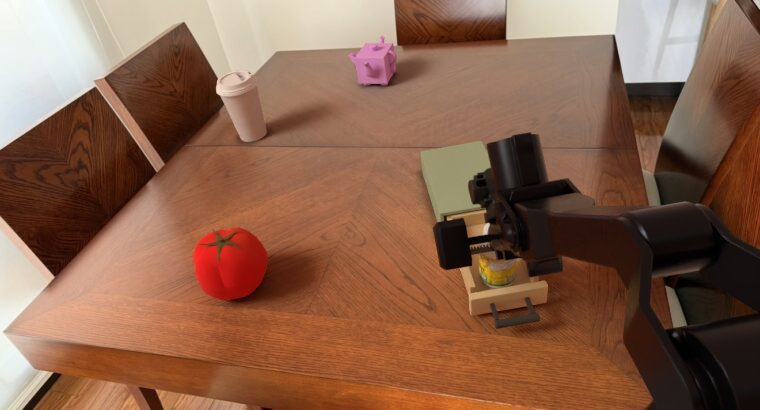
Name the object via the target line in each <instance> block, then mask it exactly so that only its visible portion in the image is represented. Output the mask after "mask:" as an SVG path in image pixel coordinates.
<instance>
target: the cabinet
mask: <svg viewBox="0 0 760 410" xmlns="http://www.w3.org/2000/svg"><path fill="white" fill-rule="evenodd" d="M419 152H420V163H421V173H422V176H423V179H424V184H425V186H426V190H427V192H428V197H429V199H430V203H431V206H432V208H433V212H434V215H435V219H436V223H437V222H441V221H447V216H448V215H454V214H460V213H466V212H472V211H477V210H483V209H486V208H481V205H479V204H476V205H473V204H472V202H471V198H470V194H469V190H468V182H469V180H473V179H474V178H473V176H474V175H477V173H480V172H484V171H485V170H486V169H488V168H491V167H490V162H489V157H488V152H487V147H486V146H485V144H484V143H483V141H482V140H478V141H471V142H466V143H460V144H455V145H449V146H442V147H438V148H432V149H425V150H420V151H419Z"/></svg>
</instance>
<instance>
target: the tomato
mask: <svg viewBox="0 0 760 410" xmlns="http://www.w3.org/2000/svg"><path fill="white" fill-rule="evenodd" d="M192 258H193V264H194V274H195V276H196V279H197V282H198V284H199V286H200V288H201V289H202V291H203V292H204V293H205V295H206V296H209V297H211V298H214V299H218V300H222V301H231V300H236V299H241V298H246V297H247V296H249V295H251V294H252V293H253V292H254V291H256V289H257V288H258V287H259V286H260V285H261V283H262V281H263V279H264V277H265V275H266V273H267V268H268V260H269V259H268V251H267V250H266V248H265V246H264V245H263V242H261V240H260V239H259V238H258V236H256V235H255V234H254V233H252V232H251V231H249V230H248V229H246V228H243V227H241V226H237V227H236V226H235V227H231V228H229V229H218V230H214V229H212V231H210V232H209V233H208V234H206V235H204V236H203V237H201V238H199V240H198V242H197V244H196V245H195V246H194V249H193V254H192Z"/></svg>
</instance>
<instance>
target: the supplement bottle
mask: <svg viewBox="0 0 760 410" xmlns="http://www.w3.org/2000/svg"><path fill="white" fill-rule="evenodd" d="M489 226H490V224H489V223H487V224H486V225H485V227H484V230H483V235H486V234H488V228H489ZM486 244H488V246H489V244H490V243H489V242H487V243H481V244H479V248H480V246H482V247H483V245H485V247H486ZM516 261H517V259H512V260H504V259H502V260H496V255H495V251H493V252H487V253H481V254H479V276H480V279H481V281H482V282H483V283H484V284H485V285H487V286H488V287H491V288H494V289H498V288H504V287H508V286H510V285H511V284H512V283H513V282H514V281H515V278H516Z"/></svg>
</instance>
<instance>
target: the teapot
mask: <svg viewBox="0 0 760 410" xmlns="http://www.w3.org/2000/svg"><path fill="white" fill-rule="evenodd" d="M347 57H348V59H350V60H351V62H353V63H354V65H355V69H356V75H357V81H358V84H363V86H370V85H372V84H373V85H374V84H375V85H377V84H379V85H380V86H382V87H383V86H384V87H385V86H388V85H389V82H390V80H391V78H392V77H393V75H394V73H395V72H396V71H397V64H396V62H397V59H398V56H397V53H396V52H395V46H394V42H385V35H381V37H379V42H369V43H368V42H367V43H364V44H363V46H362V47H361V48H360V49H359V51H358V53H357V54H355V53H354V52H352V53H349V54H348V56H347Z"/></svg>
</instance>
